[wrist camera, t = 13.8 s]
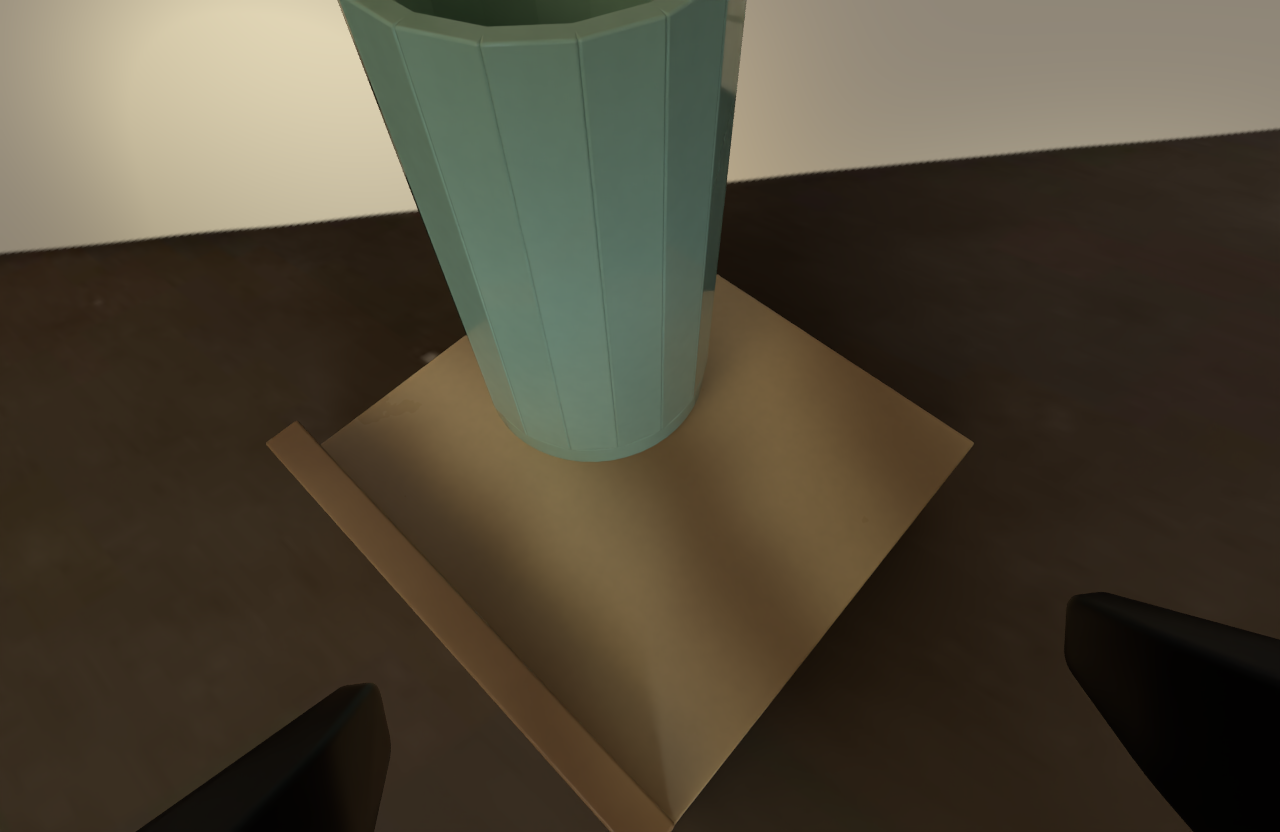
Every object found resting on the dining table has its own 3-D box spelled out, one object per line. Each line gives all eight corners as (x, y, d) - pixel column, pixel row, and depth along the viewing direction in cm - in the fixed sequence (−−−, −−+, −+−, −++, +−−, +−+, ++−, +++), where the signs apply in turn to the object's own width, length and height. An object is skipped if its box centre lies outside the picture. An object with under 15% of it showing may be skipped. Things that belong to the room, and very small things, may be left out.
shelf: (645, 857, 18) (642, 868, 13) (343, 520, 23) (263, 442, 19) (928, 499, 23) (997, 416, 18) (629, 287, 28) (624, 180, 24)
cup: (596, 507, 19) (523, 106, 8) (444, 373, 21) (239, -68, 11) (747, 360, 21) (836, -92, 11) (595, 255, 24) (547, -198, 13)
